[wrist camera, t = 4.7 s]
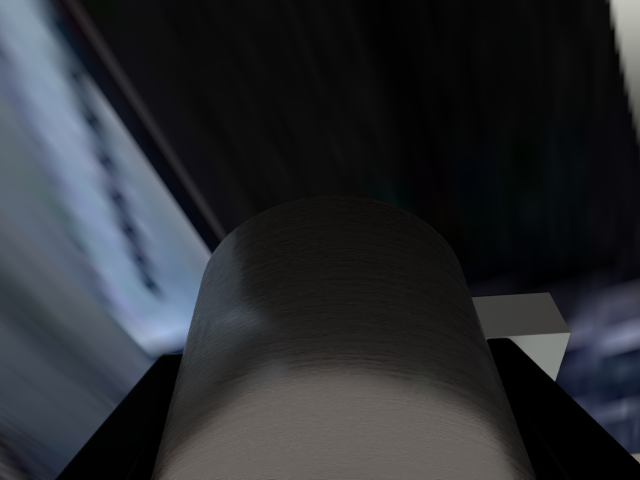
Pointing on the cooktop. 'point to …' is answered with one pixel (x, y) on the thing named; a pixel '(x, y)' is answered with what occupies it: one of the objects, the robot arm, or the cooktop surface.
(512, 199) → the cooktop surface
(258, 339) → the steel can
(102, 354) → the cooktop surface
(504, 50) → the cooktop surface
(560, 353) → the grey slab with frame
